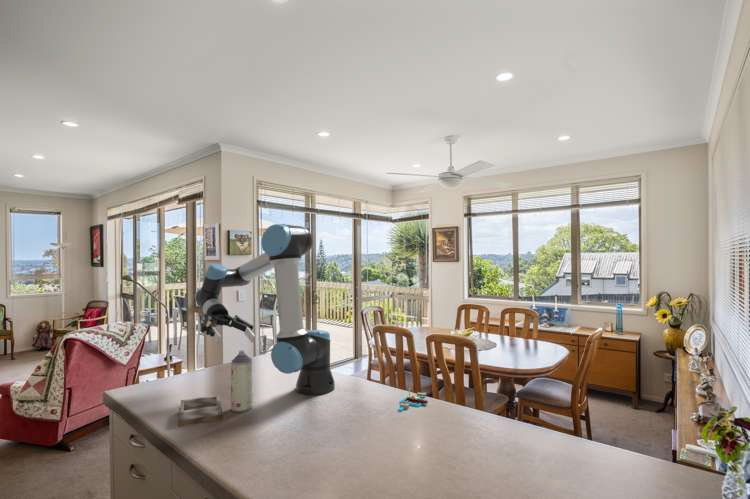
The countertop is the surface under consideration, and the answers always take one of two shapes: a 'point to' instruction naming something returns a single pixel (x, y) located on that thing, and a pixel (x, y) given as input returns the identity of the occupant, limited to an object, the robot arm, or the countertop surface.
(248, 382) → the aerosol can
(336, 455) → the countertop surface
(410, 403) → the toy boat
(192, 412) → the shallow tray
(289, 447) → the countertop surface
